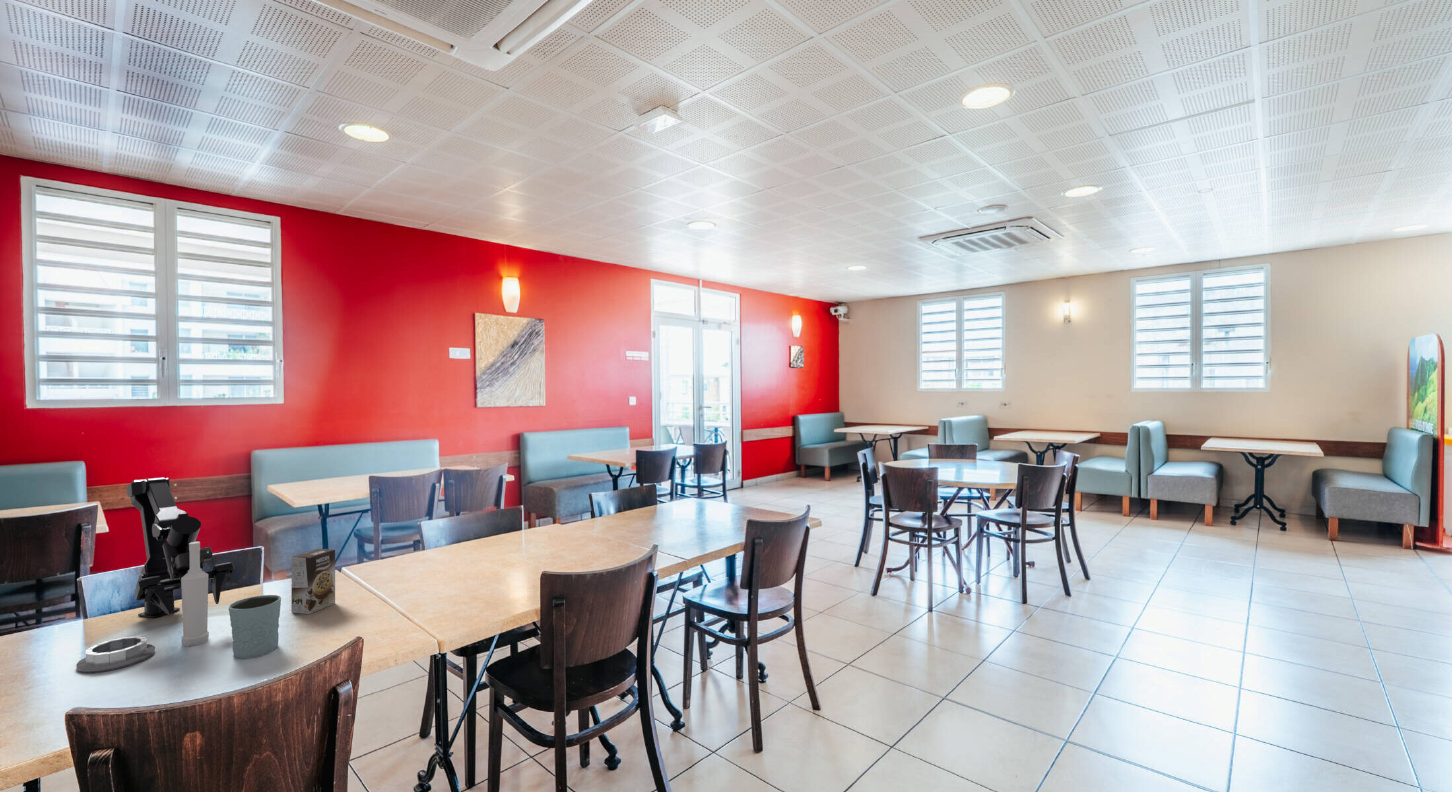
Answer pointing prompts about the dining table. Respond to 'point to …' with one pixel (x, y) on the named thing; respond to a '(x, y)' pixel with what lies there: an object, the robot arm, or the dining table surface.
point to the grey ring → (115, 654)
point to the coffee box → (313, 581)
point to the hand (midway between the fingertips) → (194, 608)
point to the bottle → (194, 600)
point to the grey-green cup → (255, 625)
